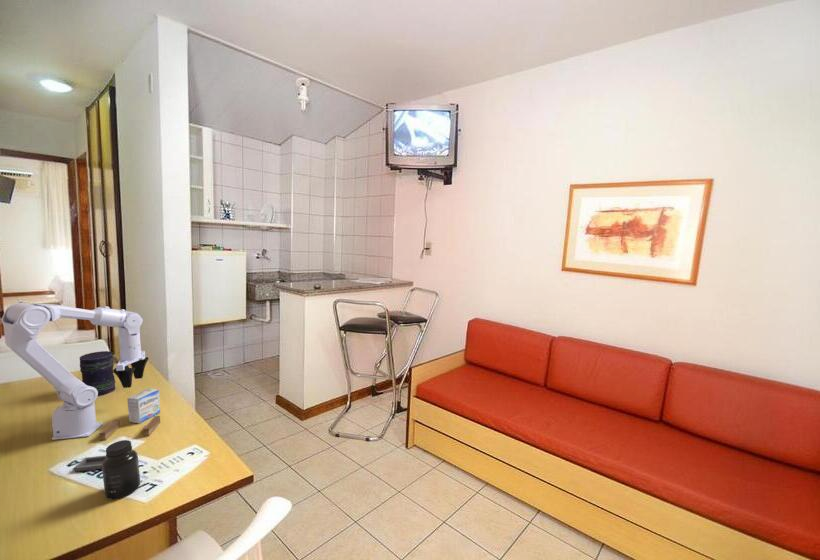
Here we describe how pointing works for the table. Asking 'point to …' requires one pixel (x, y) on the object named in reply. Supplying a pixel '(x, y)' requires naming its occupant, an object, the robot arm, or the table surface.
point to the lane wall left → (109, 430)
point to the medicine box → (143, 405)
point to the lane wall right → (151, 426)
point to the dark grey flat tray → (90, 463)
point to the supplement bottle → (120, 470)
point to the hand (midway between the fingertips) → (133, 382)
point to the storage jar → (98, 371)
